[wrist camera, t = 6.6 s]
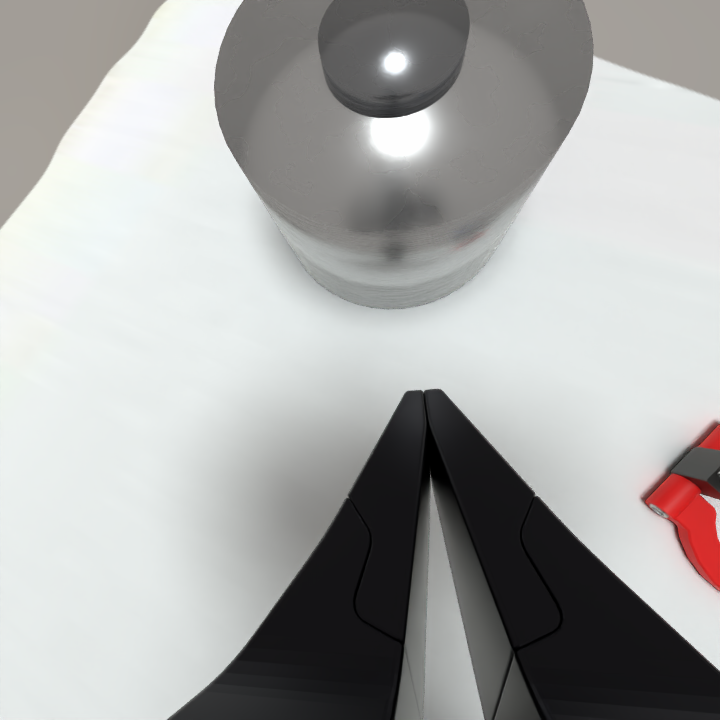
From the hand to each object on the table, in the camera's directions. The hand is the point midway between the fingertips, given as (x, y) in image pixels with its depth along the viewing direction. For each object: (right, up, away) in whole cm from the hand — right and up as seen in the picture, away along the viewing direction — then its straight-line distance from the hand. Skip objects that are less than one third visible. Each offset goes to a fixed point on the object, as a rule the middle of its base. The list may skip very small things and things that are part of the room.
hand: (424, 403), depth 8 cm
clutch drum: (+1, +12, +16) cm, 20 cm away
